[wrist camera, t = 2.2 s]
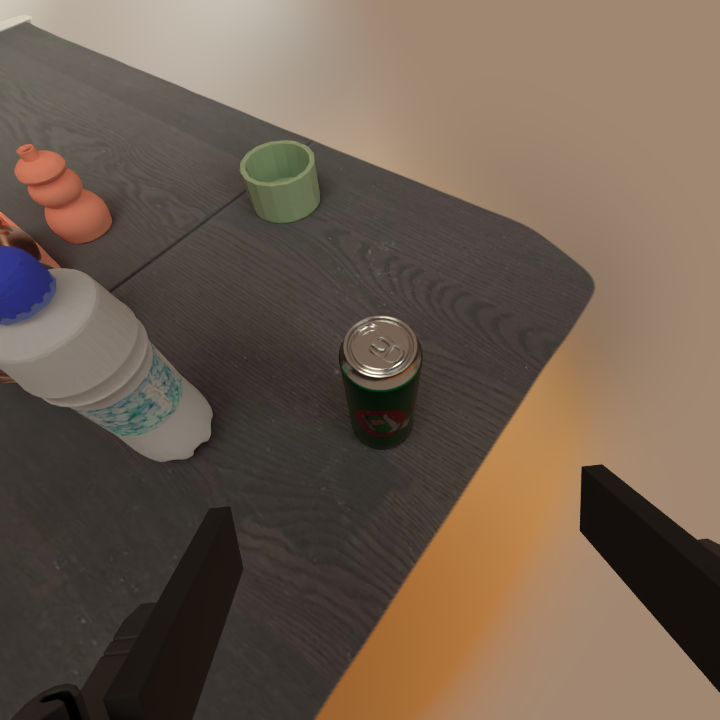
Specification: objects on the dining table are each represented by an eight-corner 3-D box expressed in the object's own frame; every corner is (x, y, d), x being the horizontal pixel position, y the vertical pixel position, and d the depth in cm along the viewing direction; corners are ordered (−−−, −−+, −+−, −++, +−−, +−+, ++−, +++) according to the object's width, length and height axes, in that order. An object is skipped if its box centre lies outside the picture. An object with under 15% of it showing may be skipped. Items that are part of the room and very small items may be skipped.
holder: (302, 170, 52) (295, 132, 48) (332, 206, 48) (327, 167, 44) (242, 194, 50) (229, 156, 46) (268, 232, 46) (256, 195, 42)
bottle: (235, 406, 35) (90, 221, 18) (198, 480, 32) (-21, 342, 15) (169, 388, 36) (-25, 200, 19) (127, 458, 33) (-150, 307, 16)
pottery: (-14, 324, 42) (-115, 254, 33) (-50, 283, 45) (-150, 210, 37) (132, 227, 48) (78, 148, 40) (90, 198, 52) (33, 120, 43)
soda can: (377, 384, 35) (373, 297, 25) (424, 417, 33) (441, 337, 23) (339, 427, 33) (319, 351, 23) (387, 464, 32) (388, 400, 21)
